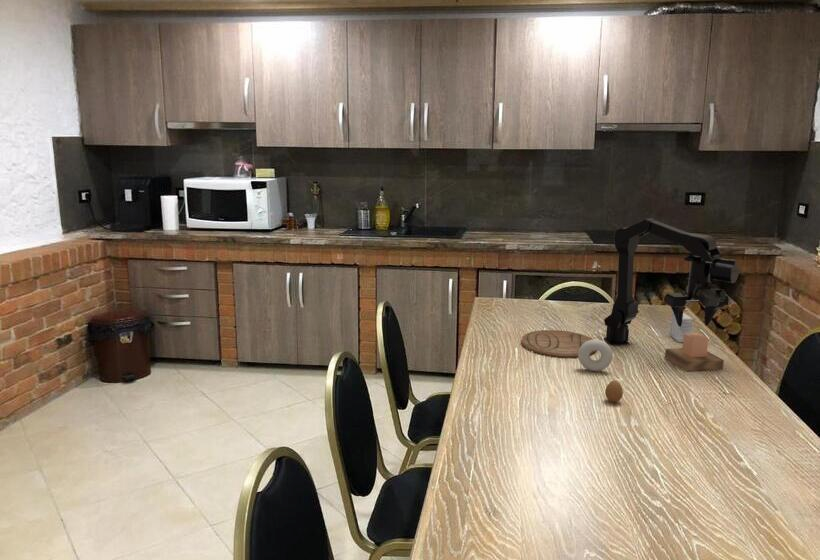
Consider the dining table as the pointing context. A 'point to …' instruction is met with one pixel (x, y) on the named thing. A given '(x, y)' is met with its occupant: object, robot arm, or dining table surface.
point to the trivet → (555, 343)
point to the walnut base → (693, 360)
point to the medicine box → (684, 329)
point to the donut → (592, 346)
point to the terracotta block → (695, 345)
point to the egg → (614, 391)
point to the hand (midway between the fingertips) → (693, 325)
